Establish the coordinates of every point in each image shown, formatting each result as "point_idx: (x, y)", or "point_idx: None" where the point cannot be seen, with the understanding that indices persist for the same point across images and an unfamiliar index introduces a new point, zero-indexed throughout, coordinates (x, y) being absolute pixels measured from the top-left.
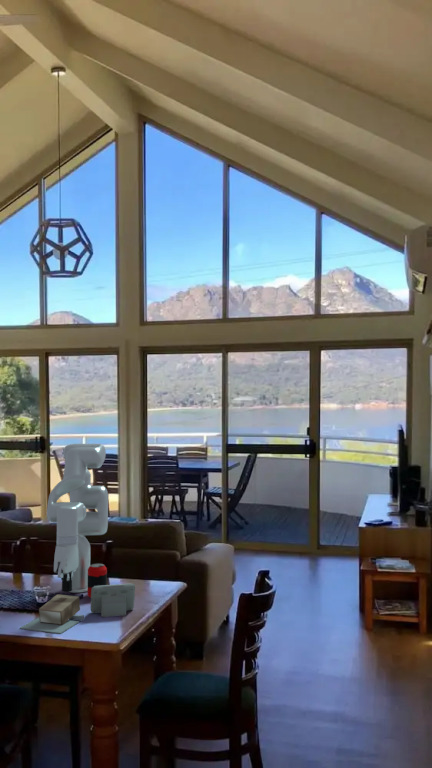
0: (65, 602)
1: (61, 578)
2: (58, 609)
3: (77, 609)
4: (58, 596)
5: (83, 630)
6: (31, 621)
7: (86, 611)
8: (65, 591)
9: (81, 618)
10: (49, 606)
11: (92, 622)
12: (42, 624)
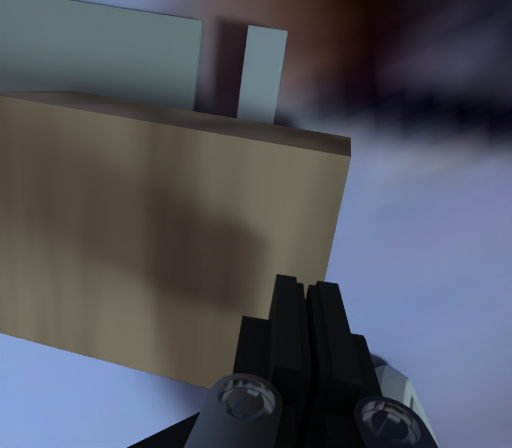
0: (153, 318)
1: (154, 437)
2: (15, 296)
3: None
4: (287, 195)
5: (54, 408)
6: (70, 3)
7: (411, 320)
8: (268, 317)
9: None
10: (47, 187)
11: None
12: None
